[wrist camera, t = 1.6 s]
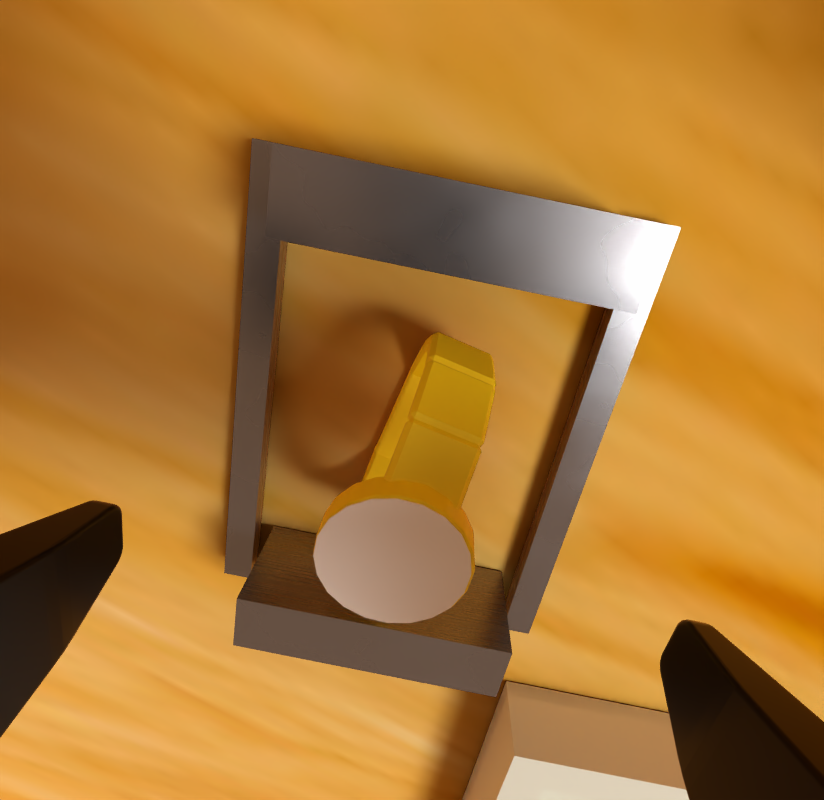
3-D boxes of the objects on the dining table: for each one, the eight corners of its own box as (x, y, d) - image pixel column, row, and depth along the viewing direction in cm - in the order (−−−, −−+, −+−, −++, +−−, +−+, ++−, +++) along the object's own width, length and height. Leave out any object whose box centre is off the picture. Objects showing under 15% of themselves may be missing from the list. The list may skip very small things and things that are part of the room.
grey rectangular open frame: (670, 225, 12) (736, 238, 9) (526, 618, 17) (540, 706, 14) (261, 140, 12) (203, 128, 9) (232, 559, 17) (188, 636, 14)
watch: (422, 509, 16) (398, 699, 10) (336, 475, 16) (266, 652, 10) (516, 336, 13) (549, 471, 8) (413, 291, 13) (374, 400, 8)
